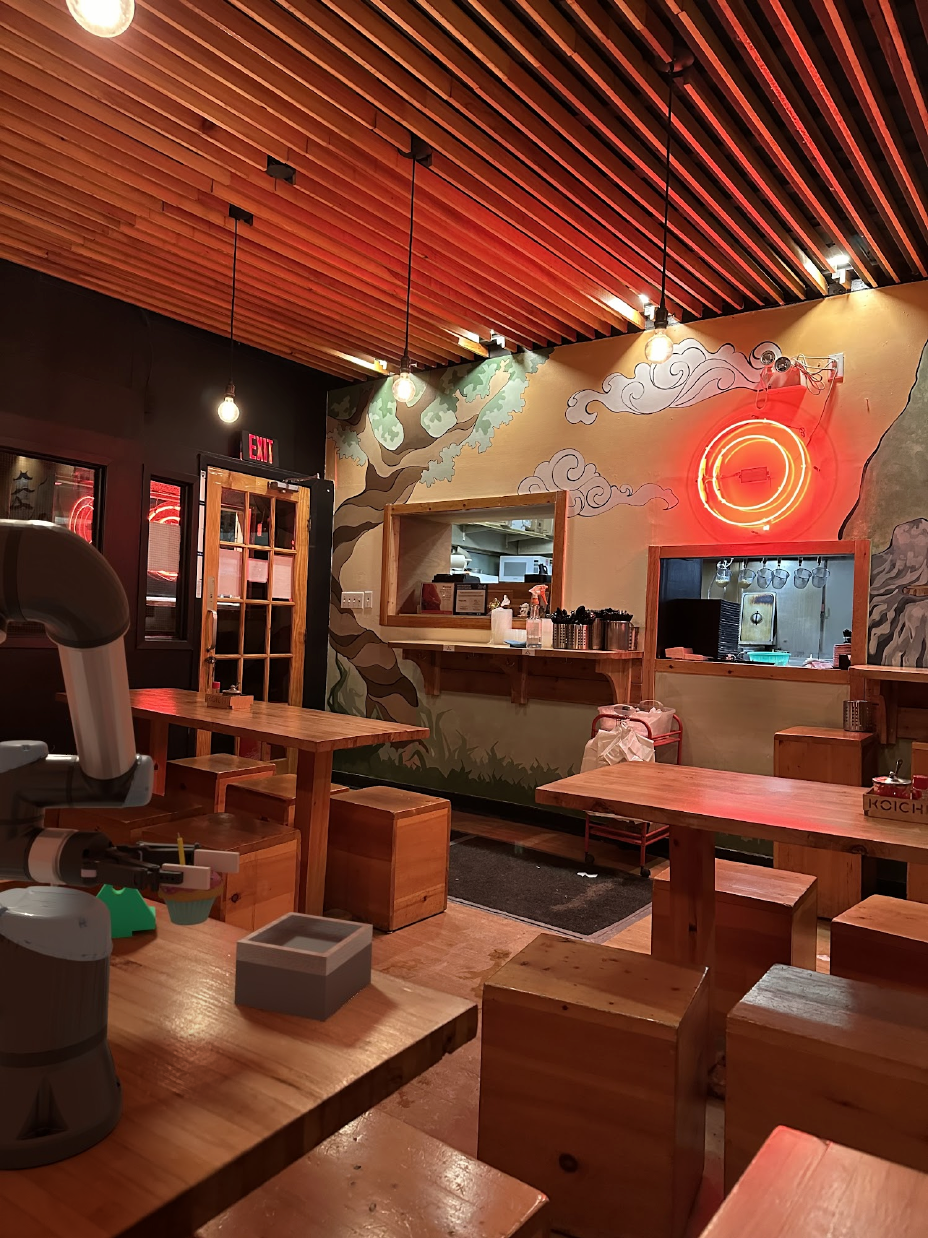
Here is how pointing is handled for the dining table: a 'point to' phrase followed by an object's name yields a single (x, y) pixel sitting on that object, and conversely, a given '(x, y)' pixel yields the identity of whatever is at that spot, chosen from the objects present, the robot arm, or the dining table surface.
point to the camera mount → (127, 911)
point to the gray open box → (302, 981)
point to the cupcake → (190, 897)
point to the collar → (264, 953)
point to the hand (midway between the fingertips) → (223, 870)
